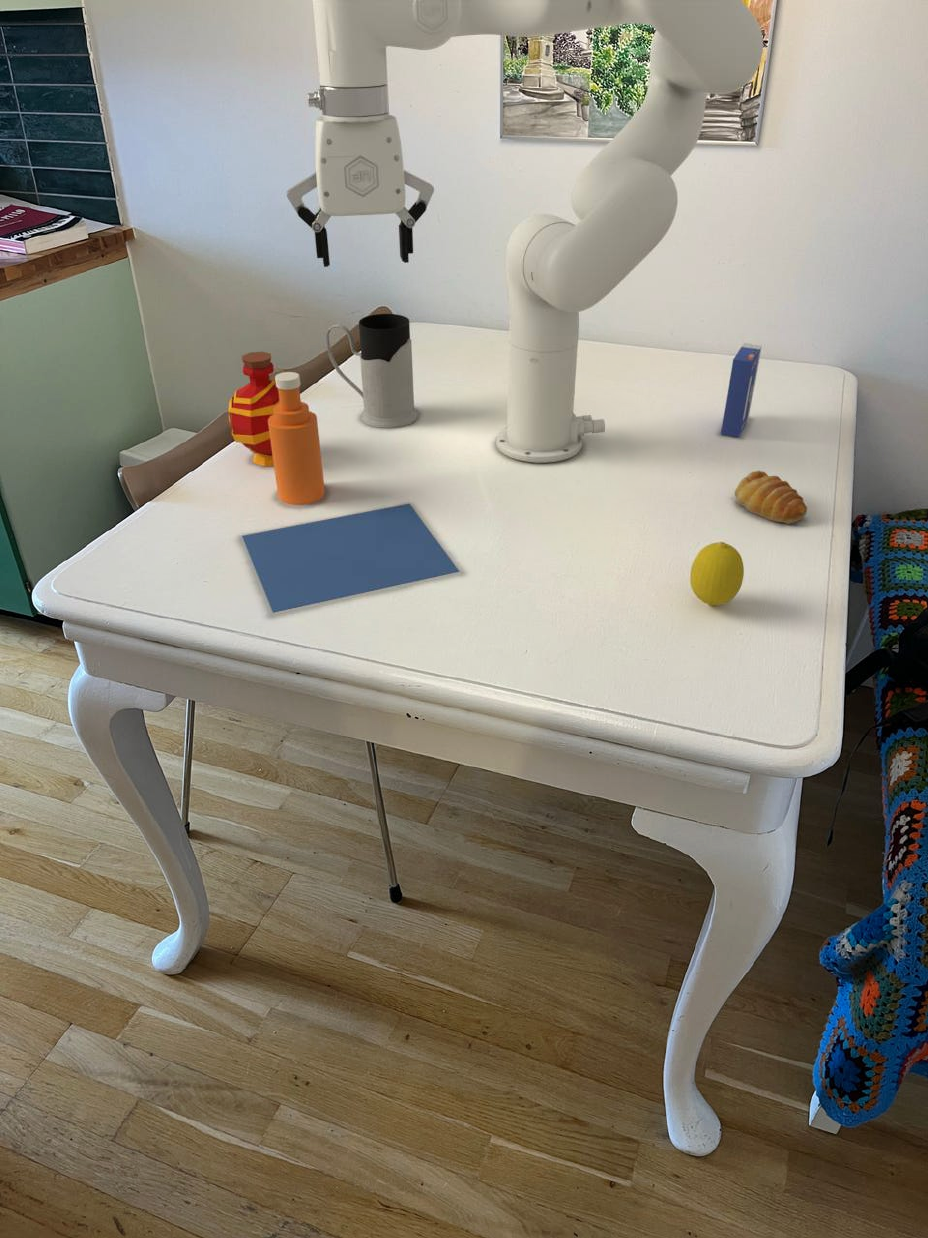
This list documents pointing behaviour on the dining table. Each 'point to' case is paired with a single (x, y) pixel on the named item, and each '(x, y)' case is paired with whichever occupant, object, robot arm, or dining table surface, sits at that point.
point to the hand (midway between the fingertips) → (365, 261)
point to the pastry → (770, 498)
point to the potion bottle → (255, 407)
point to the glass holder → (383, 370)
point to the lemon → (717, 573)
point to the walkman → (741, 389)
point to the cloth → (345, 556)
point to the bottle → (295, 445)
